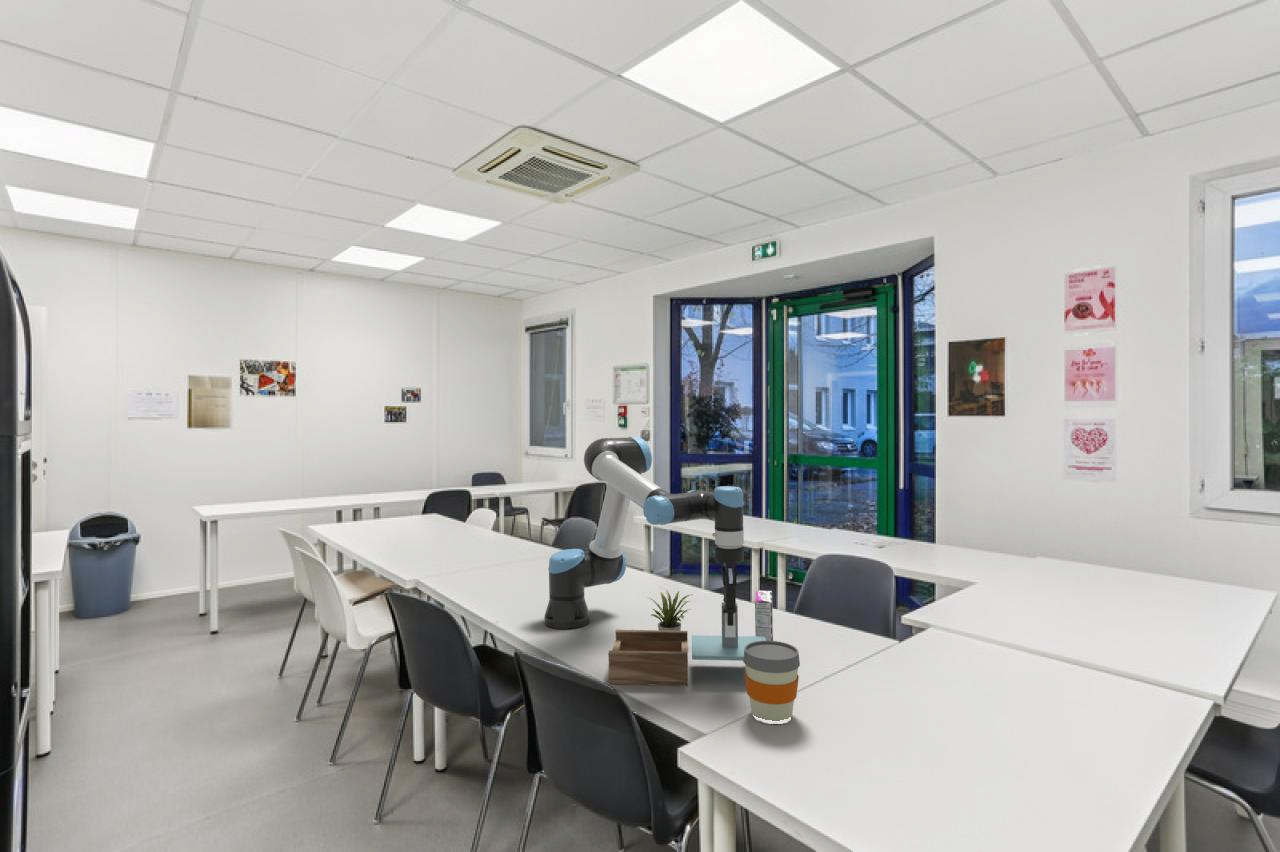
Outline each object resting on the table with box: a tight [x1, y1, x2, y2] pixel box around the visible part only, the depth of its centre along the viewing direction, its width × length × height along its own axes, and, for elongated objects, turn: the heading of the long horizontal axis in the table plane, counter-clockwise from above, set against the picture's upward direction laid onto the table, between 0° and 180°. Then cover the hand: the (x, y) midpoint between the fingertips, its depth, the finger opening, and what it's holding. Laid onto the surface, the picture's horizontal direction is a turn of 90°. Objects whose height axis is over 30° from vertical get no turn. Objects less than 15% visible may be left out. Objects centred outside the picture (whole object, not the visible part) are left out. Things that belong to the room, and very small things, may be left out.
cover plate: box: [691, 601, 766, 662], centre depth 167 cm, size 15×20×12 cm
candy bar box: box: [754, 590, 774, 641], centre depth 182 cm, size 11×5×16 cm, turn 168°
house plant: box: [647, 589, 694, 631], centre depth 188 cm, size 14×14×16 cm
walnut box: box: [608, 629, 689, 687], centre depth 169 cm, size 17×20×8 cm
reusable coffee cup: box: [743, 640, 801, 721], centre depth 144 cm, size 13×13×15 cm
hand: (729, 634), depth 167 cm, fingers closed on cover plate, 3 cm apart
